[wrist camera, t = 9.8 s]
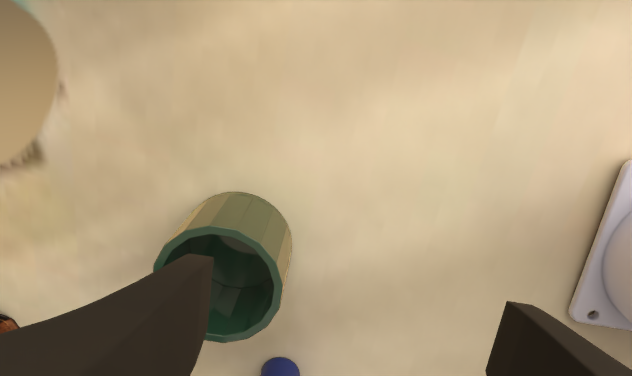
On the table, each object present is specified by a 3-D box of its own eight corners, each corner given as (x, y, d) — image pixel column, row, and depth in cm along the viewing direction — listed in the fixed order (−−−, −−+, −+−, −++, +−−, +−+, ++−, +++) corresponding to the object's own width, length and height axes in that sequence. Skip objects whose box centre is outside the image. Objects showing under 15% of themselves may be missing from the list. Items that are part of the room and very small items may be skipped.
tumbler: (299, 201, 22) (290, 238, 18) (284, 297, 23) (272, 351, 19) (189, 183, 22) (155, 216, 18) (182, 280, 23) (149, 331, 19)
